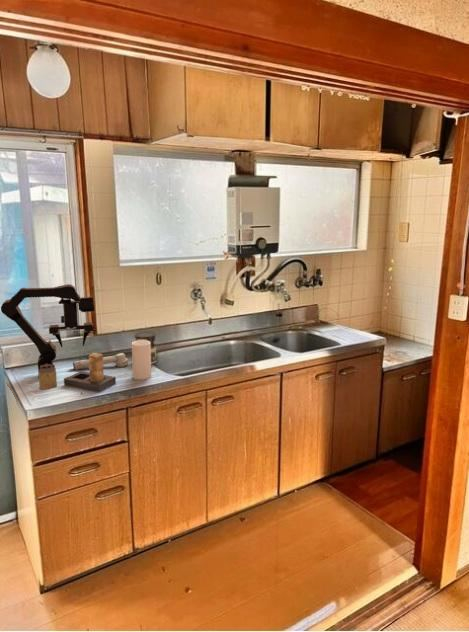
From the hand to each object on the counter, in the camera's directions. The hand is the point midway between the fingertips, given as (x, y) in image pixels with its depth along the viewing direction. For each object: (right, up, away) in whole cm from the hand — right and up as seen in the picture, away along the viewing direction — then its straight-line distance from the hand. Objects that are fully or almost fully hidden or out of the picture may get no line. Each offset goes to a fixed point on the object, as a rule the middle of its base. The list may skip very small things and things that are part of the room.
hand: (72, 346), depth 210 cm
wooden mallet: (+9, -11, +12) cm, 19 cm away
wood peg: (+15, -16, -12) cm, 25 cm away
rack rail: (+11, -16, -10) cm, 22 cm away
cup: (+31, -14, +1) cm, 34 cm away
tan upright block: (-5, -17, -14) cm, 22 cm away
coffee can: (+29, -9, +21) cm, 37 cm away
